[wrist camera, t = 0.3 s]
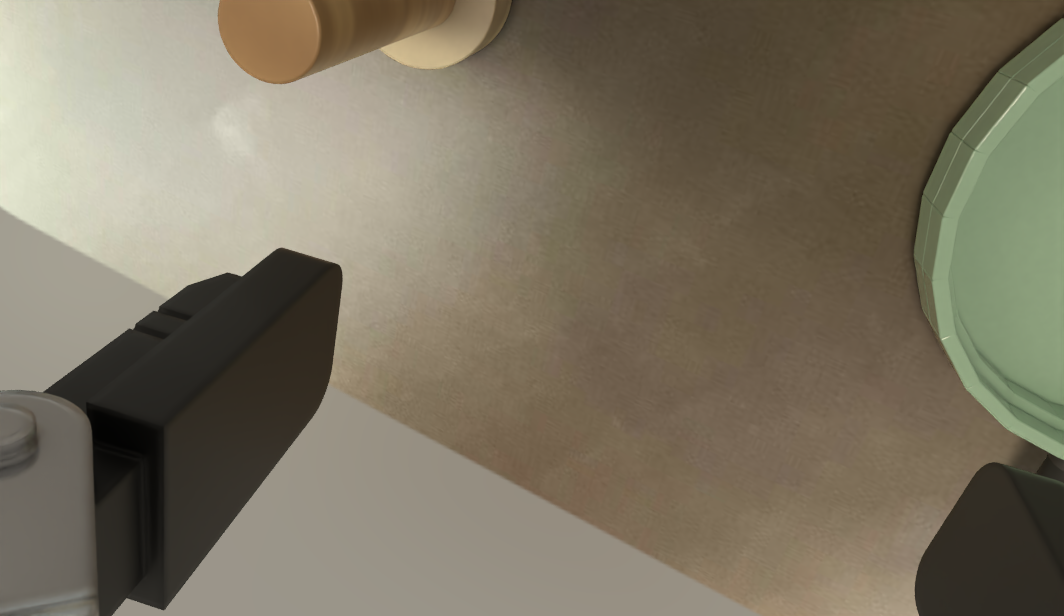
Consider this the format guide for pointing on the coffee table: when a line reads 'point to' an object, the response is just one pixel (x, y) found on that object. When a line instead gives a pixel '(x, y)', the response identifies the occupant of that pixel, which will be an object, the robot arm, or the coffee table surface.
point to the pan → (1003, 245)
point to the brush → (354, 33)
